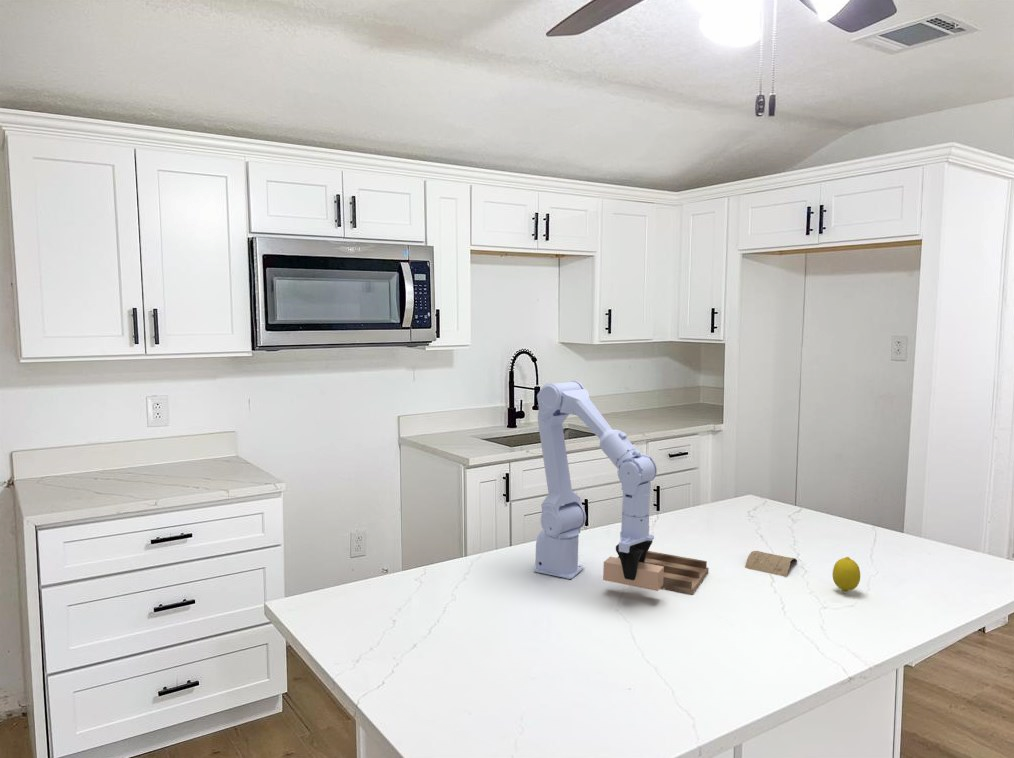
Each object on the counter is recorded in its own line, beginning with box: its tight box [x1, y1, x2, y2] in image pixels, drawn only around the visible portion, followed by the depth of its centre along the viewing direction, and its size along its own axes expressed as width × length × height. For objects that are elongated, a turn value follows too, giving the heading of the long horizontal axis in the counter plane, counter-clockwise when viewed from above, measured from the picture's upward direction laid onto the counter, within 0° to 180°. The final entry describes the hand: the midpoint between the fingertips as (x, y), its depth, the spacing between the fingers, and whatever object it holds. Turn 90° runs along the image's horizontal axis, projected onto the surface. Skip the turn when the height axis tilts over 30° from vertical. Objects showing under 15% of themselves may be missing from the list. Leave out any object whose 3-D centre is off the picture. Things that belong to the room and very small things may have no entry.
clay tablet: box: [744, 550, 798, 578], centre depth 181 cm, size 14×10×3 cm
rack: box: [617, 550, 710, 595], centre depth 173 cm, size 20×15×3 cm
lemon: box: [832, 556, 861, 593], centre depth 164 cm, size 6×6×8 cm
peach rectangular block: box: [602, 556, 664, 592], centre depth 160 cm, size 12×4×4 cm, turn 62°
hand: (633, 575), depth 160 cm, fingers closed on peach rectangular block, 4 cm apart
